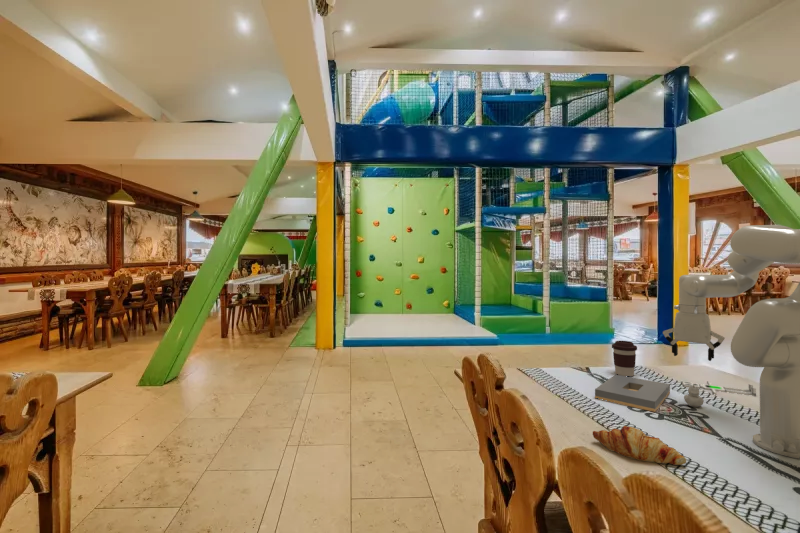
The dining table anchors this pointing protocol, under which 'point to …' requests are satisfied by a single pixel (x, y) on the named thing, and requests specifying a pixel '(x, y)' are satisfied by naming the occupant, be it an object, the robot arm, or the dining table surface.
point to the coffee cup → (624, 357)
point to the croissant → (638, 446)
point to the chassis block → (633, 392)
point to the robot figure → (721, 388)
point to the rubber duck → (693, 397)
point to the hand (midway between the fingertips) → (692, 357)
